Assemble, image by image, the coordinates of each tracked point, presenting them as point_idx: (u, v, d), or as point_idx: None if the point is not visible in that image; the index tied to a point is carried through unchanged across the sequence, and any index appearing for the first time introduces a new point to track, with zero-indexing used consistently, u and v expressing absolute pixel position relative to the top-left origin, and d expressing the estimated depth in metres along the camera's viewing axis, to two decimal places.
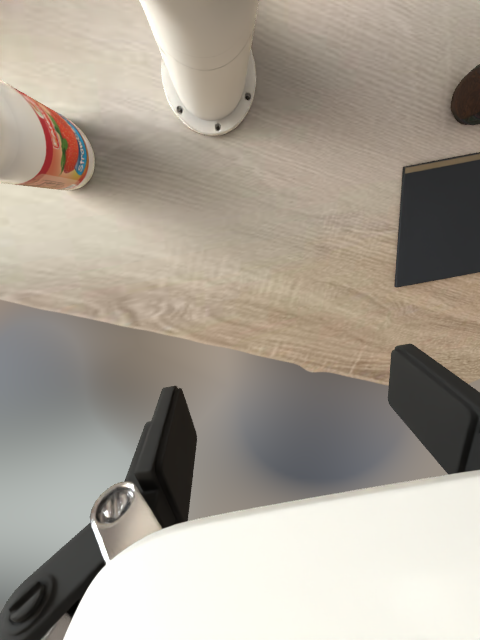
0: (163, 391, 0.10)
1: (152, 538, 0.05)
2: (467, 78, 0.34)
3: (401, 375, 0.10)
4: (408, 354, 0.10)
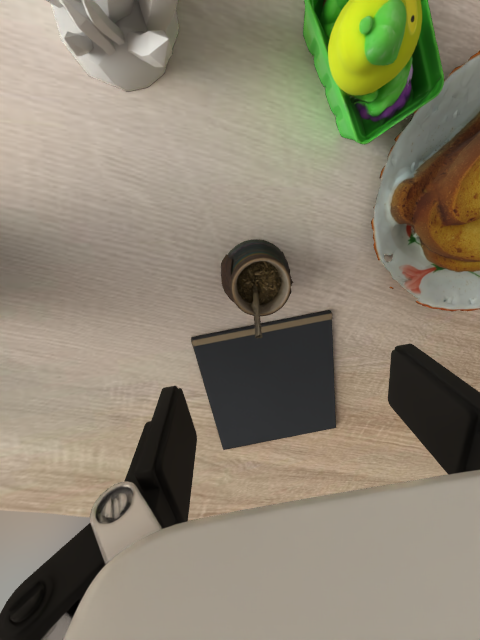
0: (163, 391, 0.10)
1: (152, 538, 0.05)
2: (221, 263, 0.26)
3: (401, 375, 0.10)
4: (408, 354, 0.10)
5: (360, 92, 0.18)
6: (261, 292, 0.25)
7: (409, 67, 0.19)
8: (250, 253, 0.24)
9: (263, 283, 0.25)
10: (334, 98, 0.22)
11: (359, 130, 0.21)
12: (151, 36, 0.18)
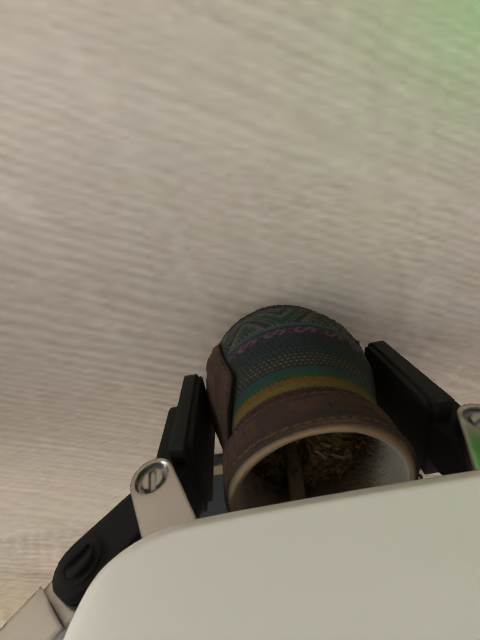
0: (185, 379, 0.11)
1: (152, 538, 0.05)
2: (206, 367, 0.11)
3: (373, 370, 0.11)
4: (378, 350, 0.11)
5: None
6: (310, 466, 0.09)
7: None
8: (286, 370, 0.08)
9: (318, 444, 0.09)
10: None
11: None
12: None
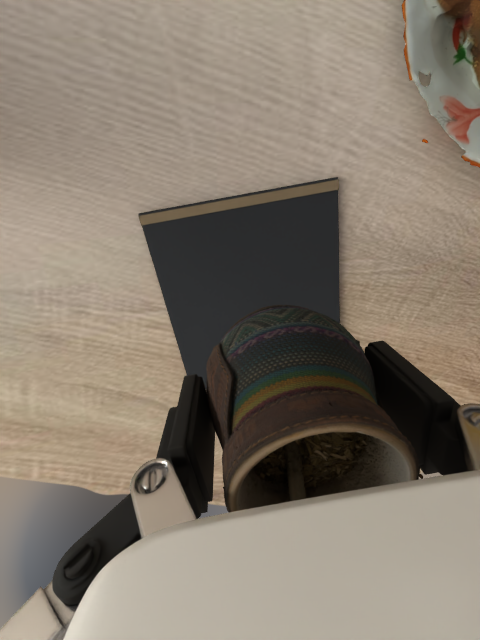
0: (185, 379, 0.11)
1: (152, 538, 0.05)
2: (207, 367, 0.11)
3: (373, 370, 0.11)
4: (378, 350, 0.11)
5: None
6: (311, 466, 0.09)
7: None
8: (286, 369, 0.08)
9: (318, 444, 0.09)
10: None
11: None
12: None
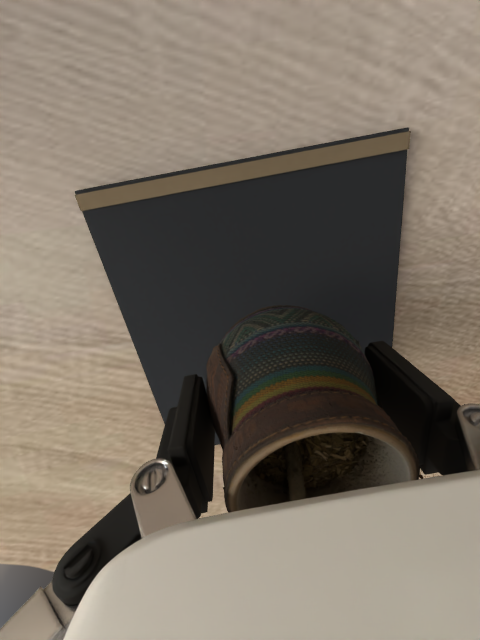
0: (185, 379, 0.11)
1: (152, 538, 0.05)
2: (207, 367, 0.11)
3: (373, 370, 0.11)
4: (378, 350, 0.11)
5: None
6: (311, 466, 0.09)
7: None
8: (286, 369, 0.08)
9: (318, 444, 0.09)
10: None
11: None
12: None
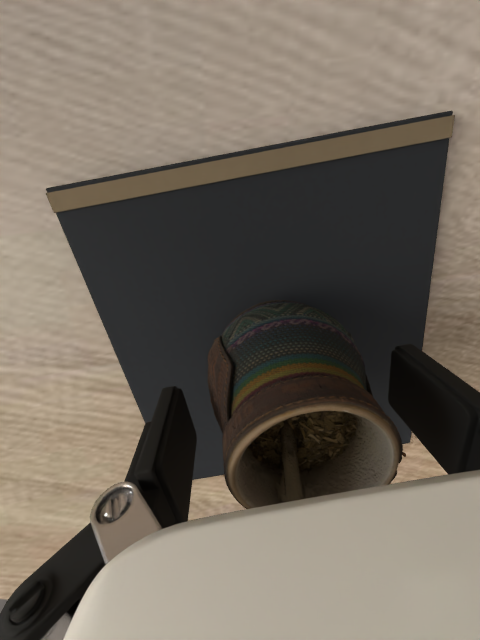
0: (163, 391, 0.10)
1: (152, 538, 0.05)
2: (208, 358, 0.11)
3: (401, 375, 0.10)
4: (408, 354, 0.10)
5: None
6: (304, 448, 0.10)
7: None
8: (281, 357, 0.09)
9: (311, 428, 0.10)
10: None
11: None
12: None
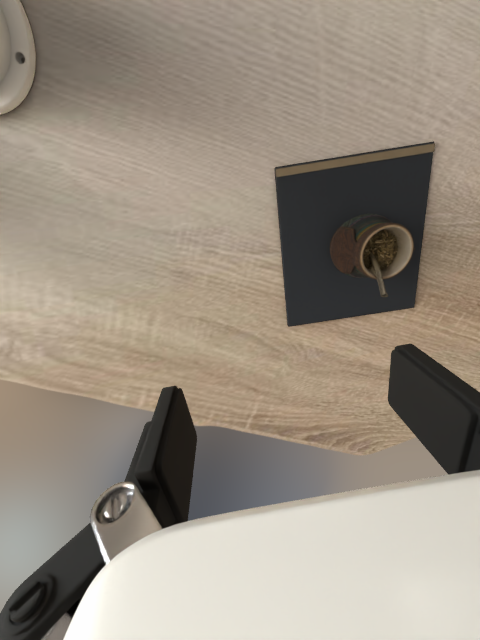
0: (163, 391, 0.10)
1: (152, 538, 0.05)
2: (337, 234, 0.29)
3: (401, 375, 0.10)
4: (408, 354, 0.10)
5: None
6: (378, 260, 0.27)
7: None
8: (374, 222, 0.27)
9: (381, 251, 0.27)
10: None
11: None
12: None
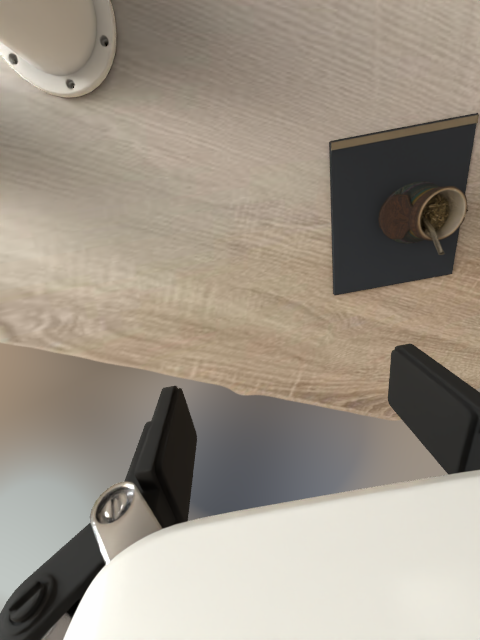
0: (163, 391, 0.10)
1: (152, 538, 0.05)
2: (390, 202, 0.31)
3: (401, 375, 0.10)
4: (408, 354, 0.10)
5: None
6: (431, 223, 0.30)
7: None
8: (428, 188, 0.29)
9: (434, 215, 0.30)
10: None
11: None
12: None
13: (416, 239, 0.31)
